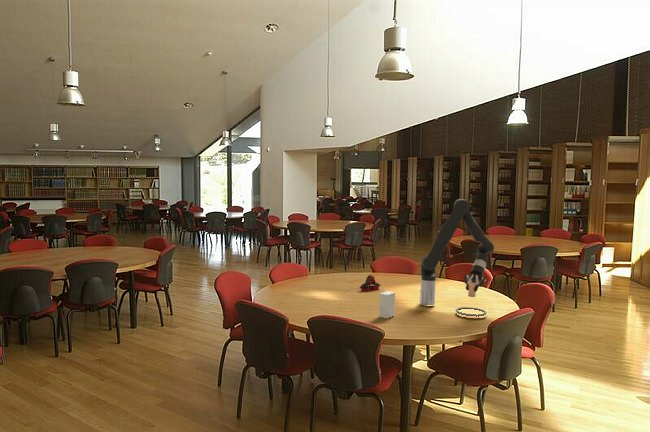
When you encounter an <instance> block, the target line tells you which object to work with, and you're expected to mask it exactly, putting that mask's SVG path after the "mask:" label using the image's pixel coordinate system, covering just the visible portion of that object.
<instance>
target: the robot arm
mask: <svg viewBox="0 0 650 432" xmlns="http://www.w3.org/2000/svg"><path fill="white" fill-rule="evenodd" d="M469 209H470V203H469V201H467V200H466V199H463V198H458V199H456V200H455V201H454V203H453V208H452V212H451V214H450V215H449V217H448V218H447V219H446V221H445V222H444V223H443V225H442V226H441V227H440V229H439V231H438V233H437V234H436V236H435V239H434V243H433V245H432V247H431V250H430V251H429V253H428V254H426V255H424V256H423V257H422V259H421V265H420V266H421V267H420V268H421V269H420V273H421V277H420V278H421V284H420V291H419V292H420V293H419V304H421V305H434V304H435V303H436V300H435V299H436V280H437V275H436V268H437V266H438V264H439V261H440V259H441V257H442V255H443V253H444V252H445V250H446V248H447V247H448V245H449V244H450V242H451V240H452V239H453V237H454V235H455V234H456V233H455V232H456V231H457V229H458V227H459V225H460V223H461V221H463V223H464V225H465V226H466V227H467V229H468V232H469V233H470V234H471V236H472V238H473V240H474V241H475V242H476V243H477V242H478V243H480V244H479V245H478V246H477V249H476V258H475V261H474V262H473V264H472V267H471V270H470V273H469V275H468V274H464V281H463V282H464V284H465V290H466V291H468V287H469V282H475V283H476V286H475V288H474V291H475V292H477V291H478V289H479V287H480V288H482V287H483V286H484V285H485V283H486V282H487V278H486V277H485V276H483V275H484V274H485V270H486V267H487V264H488V260H489V256H488V255H487V254H490V253H492V252H494V249H495V246H494V244H493V242H492V240H491V239H490V238H489V237H488V236H486V235H485V233H484V231H483V230H482V228H481V226H480V225H479V224H478V223H477V221H476V220H475V219H474V217H473V215H472V213H471V212H470V210H469ZM421 305H420V306H421Z"/></svg>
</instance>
